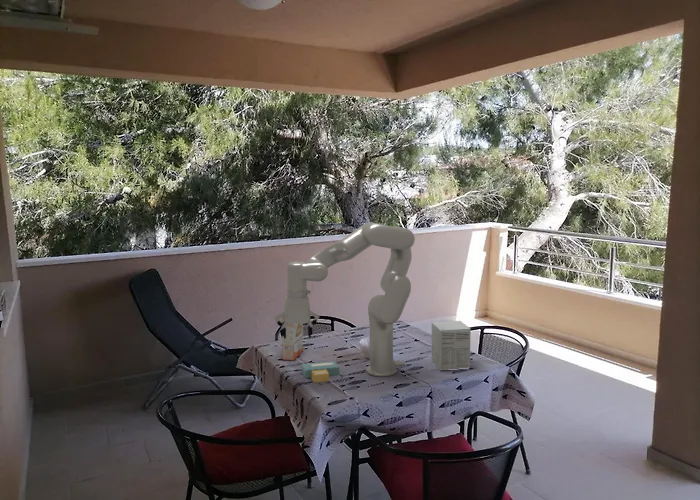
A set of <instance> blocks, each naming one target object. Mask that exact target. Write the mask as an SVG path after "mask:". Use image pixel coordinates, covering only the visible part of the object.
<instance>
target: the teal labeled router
mask: <svg viewBox="0 0 700 500" xmlns="http://www.w3.org/2000/svg"><path fill="white" fill-rule="evenodd" d="M316 370H327V371H328V373H329V377H331V376H339V375H340V367H339V365H338V364H337V362H336V361H335V360H334V361H333V360H332V361H324V362H313V363H303V364H301V373H302V375H303V376H304V378H305V379H308V378H309V379H312V373H311V371H316Z"/></svg>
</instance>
